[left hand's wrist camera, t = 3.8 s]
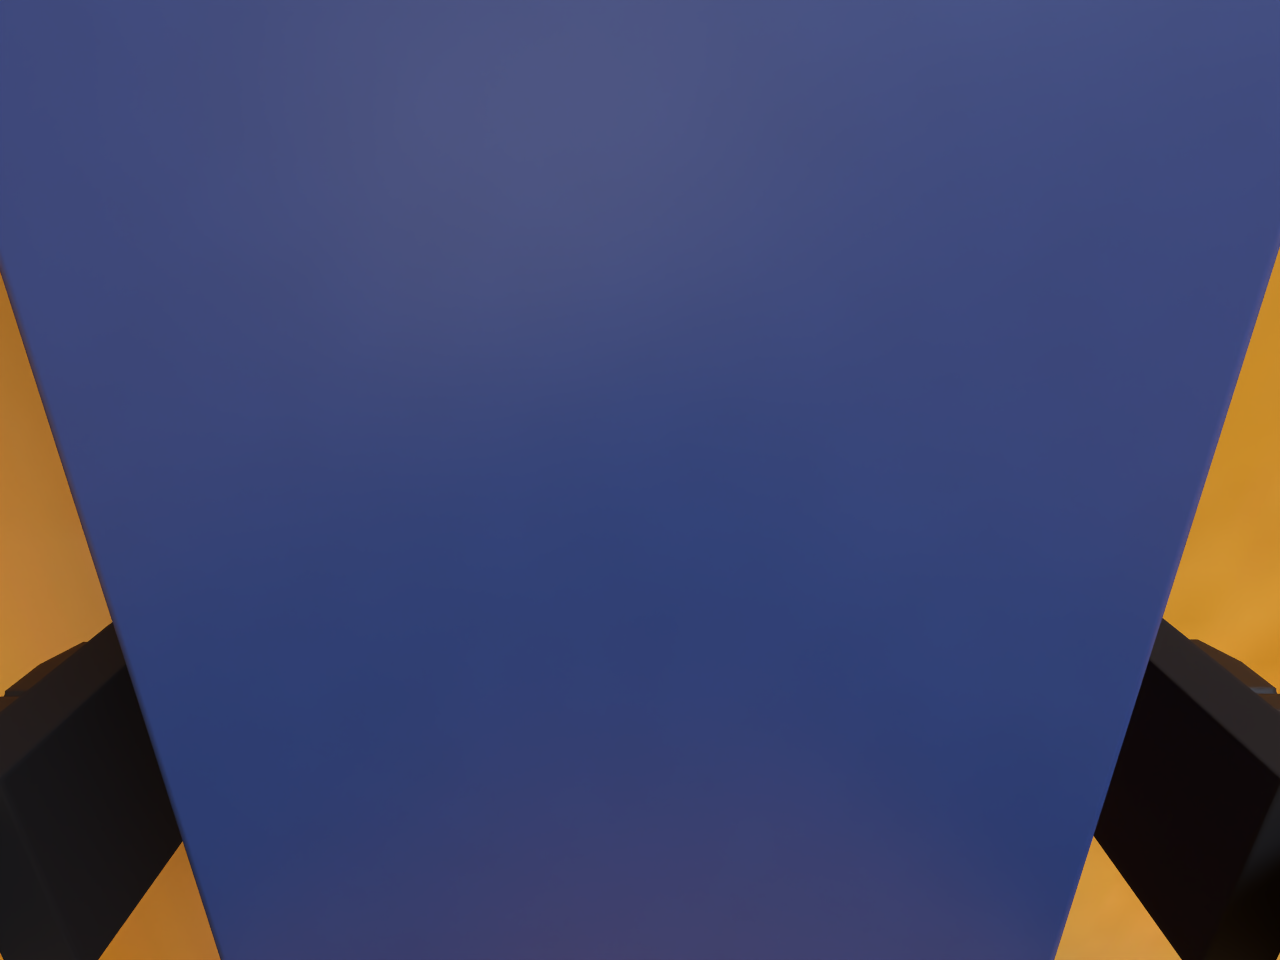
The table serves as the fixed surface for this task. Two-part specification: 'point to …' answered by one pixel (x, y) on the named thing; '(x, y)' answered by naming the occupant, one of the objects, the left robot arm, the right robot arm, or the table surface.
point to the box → (637, 444)
